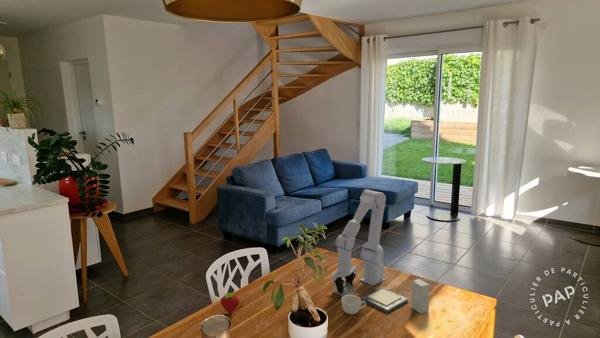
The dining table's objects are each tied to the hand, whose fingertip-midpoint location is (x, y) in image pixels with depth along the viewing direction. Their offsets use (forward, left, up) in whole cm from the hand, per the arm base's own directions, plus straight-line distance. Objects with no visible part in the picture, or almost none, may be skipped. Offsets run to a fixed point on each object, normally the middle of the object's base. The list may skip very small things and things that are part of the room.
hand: (344, 290), depth 173 cm
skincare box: (-13, +30, -2) cm, 33 cm away
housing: (0, 0, -1) cm, 1 cm away
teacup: (+8, +13, -2) cm, 15 cm away
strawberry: (+47, -19, -2) cm, 51 cm away
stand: (-8, +16, -1) cm, 18 cm away
